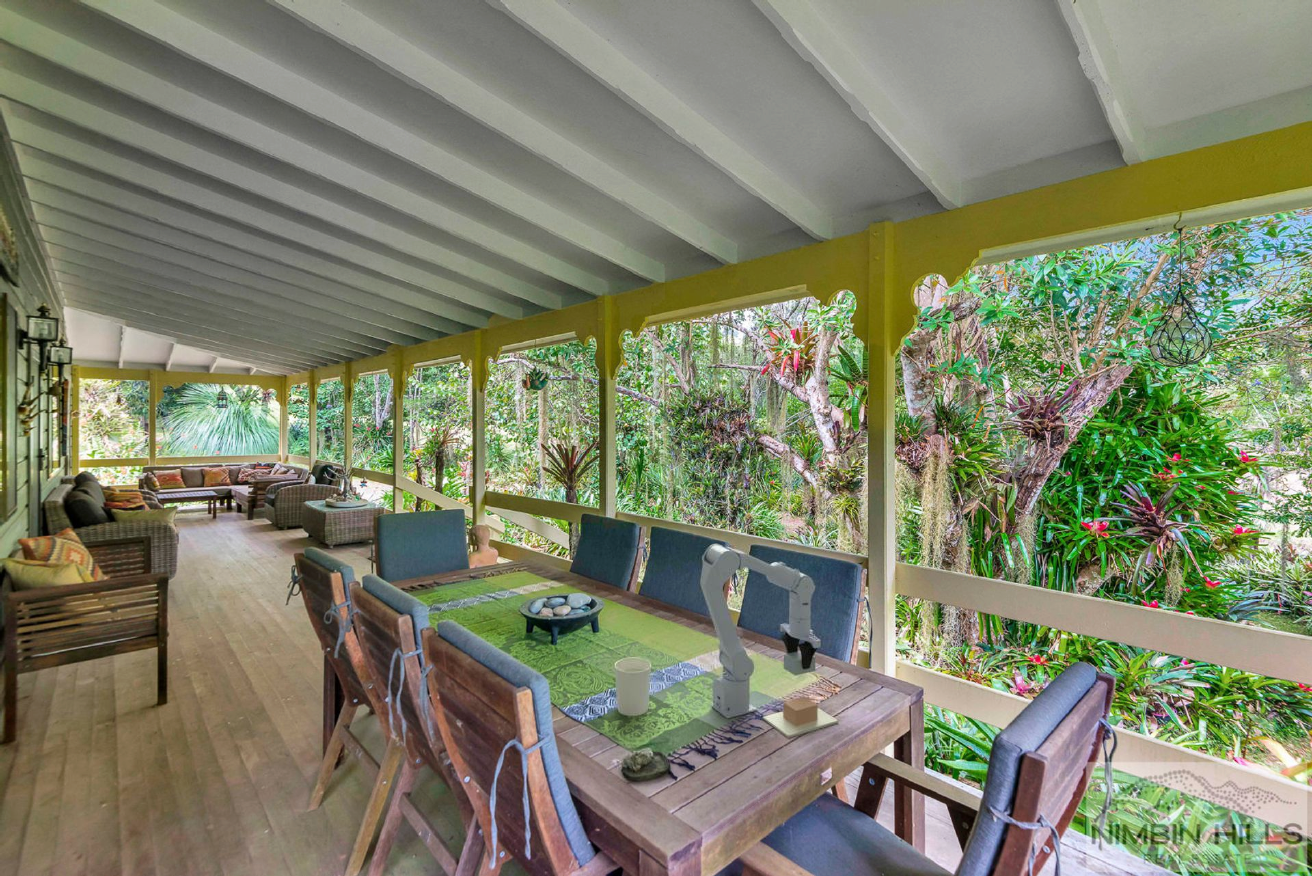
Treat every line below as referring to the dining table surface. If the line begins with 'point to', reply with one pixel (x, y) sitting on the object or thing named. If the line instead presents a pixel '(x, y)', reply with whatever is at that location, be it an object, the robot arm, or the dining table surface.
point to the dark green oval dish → (645, 765)
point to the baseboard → (793, 730)
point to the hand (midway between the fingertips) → (799, 664)
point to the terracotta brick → (800, 711)
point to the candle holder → (632, 685)
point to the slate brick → (796, 663)
